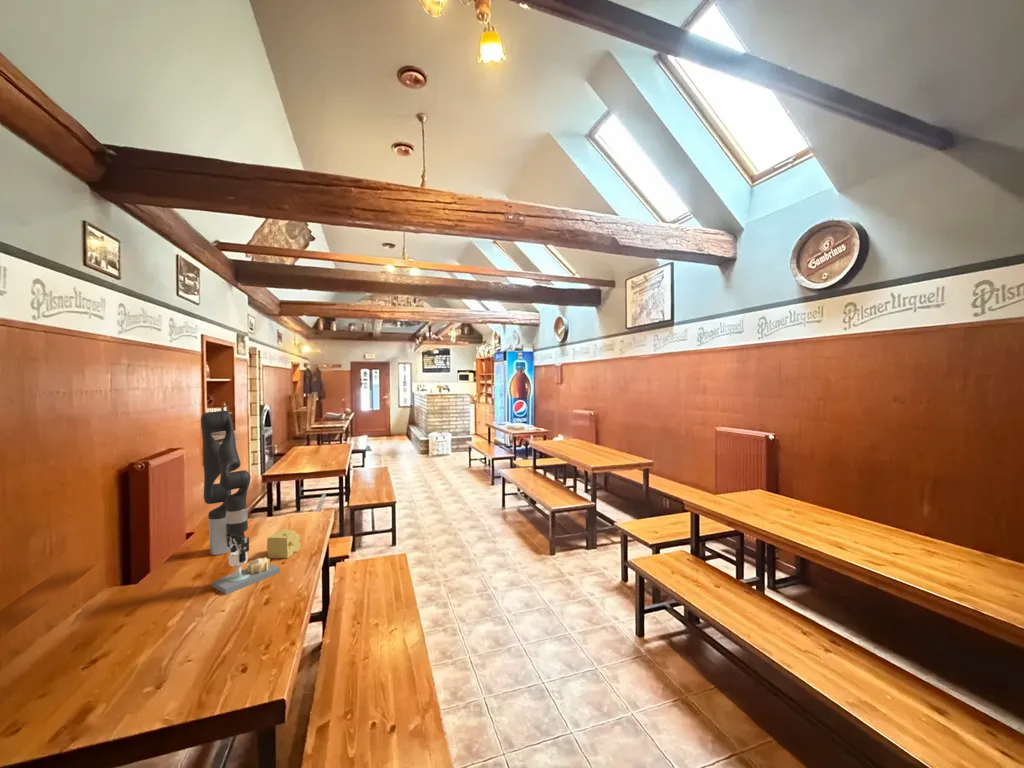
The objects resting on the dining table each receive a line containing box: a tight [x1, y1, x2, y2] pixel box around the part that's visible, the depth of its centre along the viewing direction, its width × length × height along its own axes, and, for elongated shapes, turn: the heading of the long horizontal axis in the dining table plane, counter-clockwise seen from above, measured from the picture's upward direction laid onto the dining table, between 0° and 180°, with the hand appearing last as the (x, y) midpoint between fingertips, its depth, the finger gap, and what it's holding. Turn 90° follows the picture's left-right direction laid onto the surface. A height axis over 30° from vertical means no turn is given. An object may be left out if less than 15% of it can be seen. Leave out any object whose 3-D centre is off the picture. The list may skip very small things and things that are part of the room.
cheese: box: [266, 528, 302, 559], centre depth 202 cm, size 10×11×10 cm
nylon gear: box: [227, 550, 249, 567], centre depth 175 cm, size 6×6×4 cm
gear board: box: [211, 556, 281, 595], centre depth 177 cm, size 12×21×7 cm, turn 148°
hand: (238, 559), depth 175 cm, fingers closed on nylon gear, 6 cm apart
